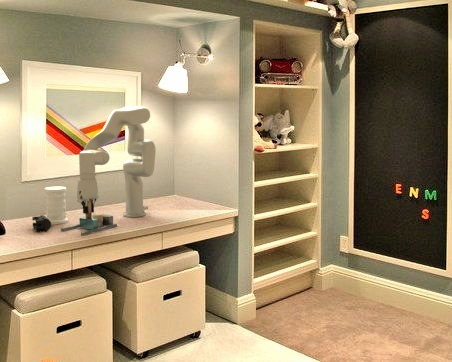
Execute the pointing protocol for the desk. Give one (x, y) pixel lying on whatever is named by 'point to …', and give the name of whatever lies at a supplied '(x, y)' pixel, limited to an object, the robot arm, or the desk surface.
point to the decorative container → (56, 204)
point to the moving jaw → (88, 219)
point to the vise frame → (106, 223)
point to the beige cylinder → (100, 219)
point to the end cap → (41, 223)
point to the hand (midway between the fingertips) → (88, 212)
